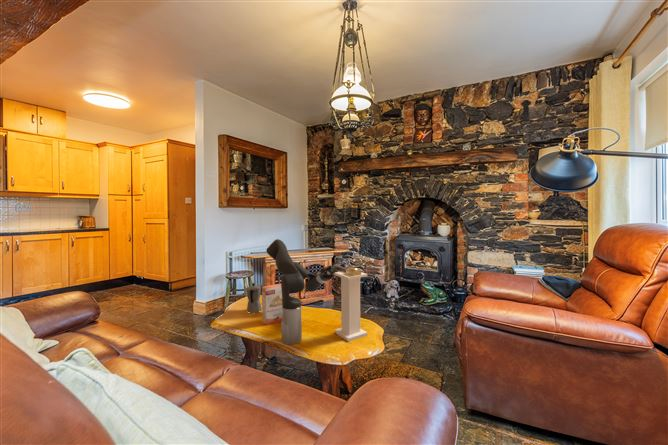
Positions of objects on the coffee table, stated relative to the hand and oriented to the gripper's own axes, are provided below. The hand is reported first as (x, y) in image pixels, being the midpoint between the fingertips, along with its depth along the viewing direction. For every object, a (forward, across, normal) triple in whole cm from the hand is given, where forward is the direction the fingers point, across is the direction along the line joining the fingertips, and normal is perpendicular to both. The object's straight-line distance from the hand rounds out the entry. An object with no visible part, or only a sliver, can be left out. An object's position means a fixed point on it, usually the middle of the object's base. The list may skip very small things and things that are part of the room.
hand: (338, 265), depth 157 cm
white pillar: (-7, 0, +35) cm, 36 cm away
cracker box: (-40, -26, +16) cm, 50 cm away
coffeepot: (-58, -32, +6) cm, 67 cm away
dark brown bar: (+6, 0, +5) cm, 8 cm away
